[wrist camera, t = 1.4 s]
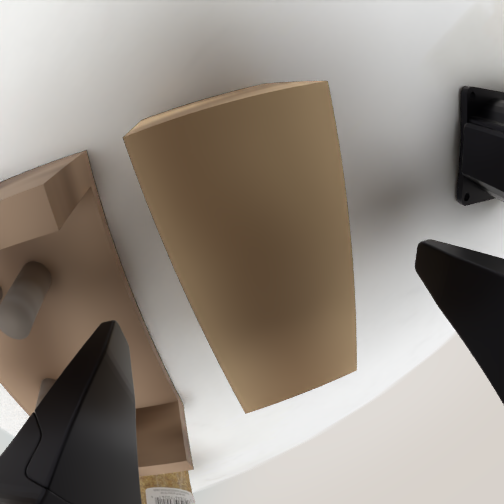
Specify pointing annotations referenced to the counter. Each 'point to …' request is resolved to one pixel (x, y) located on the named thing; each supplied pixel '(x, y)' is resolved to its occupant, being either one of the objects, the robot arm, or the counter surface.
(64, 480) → the robot arm
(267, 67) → the counter surface
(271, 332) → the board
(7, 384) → the peg cradle
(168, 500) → the sprinkles bottle
